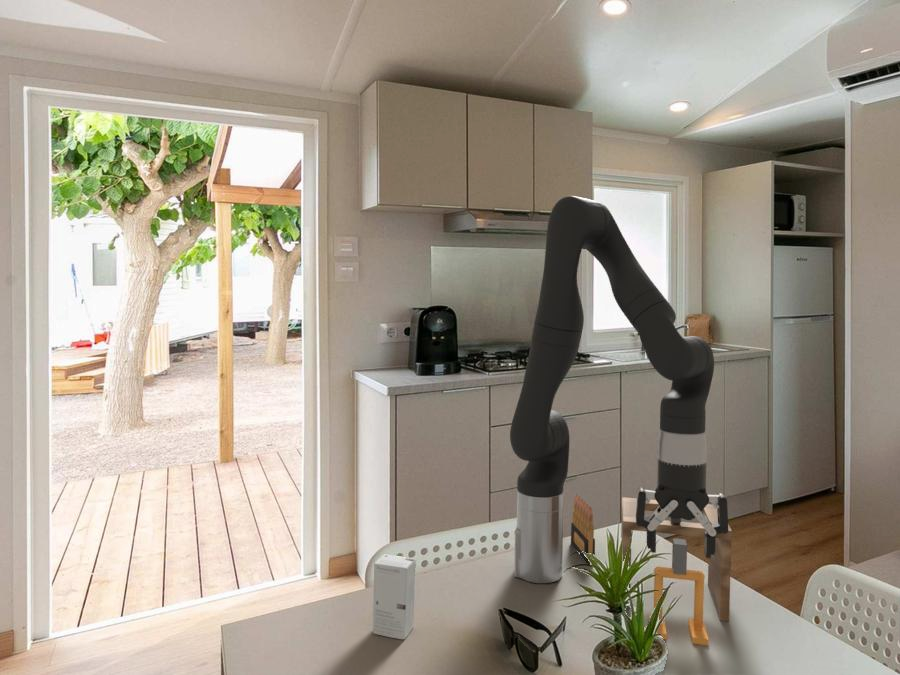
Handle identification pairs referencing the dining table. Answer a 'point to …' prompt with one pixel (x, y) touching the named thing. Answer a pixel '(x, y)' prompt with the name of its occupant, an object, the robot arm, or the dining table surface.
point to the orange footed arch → (680, 572)
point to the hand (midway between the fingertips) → (680, 553)
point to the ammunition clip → (582, 528)
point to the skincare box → (394, 596)
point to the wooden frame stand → (717, 563)
